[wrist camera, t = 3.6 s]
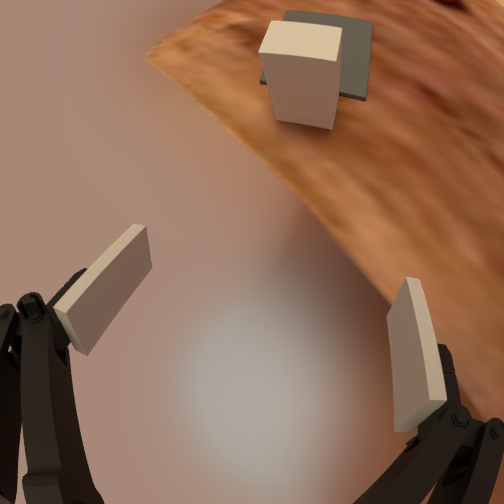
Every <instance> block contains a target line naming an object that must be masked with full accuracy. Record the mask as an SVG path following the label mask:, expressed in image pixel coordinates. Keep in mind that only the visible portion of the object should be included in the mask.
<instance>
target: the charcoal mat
mask: <svg viewBox="0 0 504 504" xmlns="http://www.w3.org/2000/svg"><path fill="white" fill-rule="evenodd" d="M282 21H288V22H300V23H310V24H318V25H326V26H333V27H339V28H342V49H341V69H340V85H339V95H342V96H347V97H351V98H356V99H360V100H366V93H367V84H368V74H369V64H370V52H371V39H372V22H370V21H366V20H361V19H356V18H350V17H344V16H338V15H332V14H324V13H316V12H306V11H295V10H287V11H286V13H285V15H284V18H283V20H282ZM260 83H262V84H267V83H266V79H265V75H264V72H262V75H261V77H260Z"/></svg>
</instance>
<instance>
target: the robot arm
mask: <svg viewBox="0 0 504 504" xmlns="http://www.w3.org/2000/svg"><path fill="white" fill-rule="evenodd" d="M151 269H152V263H151V257H150V250H149V244H148V236H147V229H146V226H145V225H140V224H133V225H132V226H131V227H130V228H129V229H128V230H127V231H126V232H125V233H124V234H123V235H122V236H121V237H119V238H118V239H117V240H116V241H115V242H114V243H113V244H112V245H111V246H110V247H109V248H108V249H107V250H106V251H105V252H104V253H103V254H102V255H101V256H100V257H99V258H98V259H97V260H96V261H95V262H94V263H93V264H92V265H91V266H90V267H89V269H86V268H84V269H82V270H80V271H79V272H77V273H75V274H74V275H73V276H72V278H71V279H70V280H69V282H67V283H66V284H65V285H64V287H62V288H61V289H60V290H59V291H58V293H57V294H56V295H55V296H54V297H53V298H52V299H51V300H50V301H49V302H48V303H47V305H45V303H44V301H43V299H42V297H41V295H40V294H39V293H36V292H31V293H28V294H25V295H24V296H23V297H21V298H20V300H19V301H18V303H17V308H18V310H19V312H16V310H15V308H14V306H13V305H12V304H3V305H2V306H0V504H15V499H16V493H17V479H18V456H19V444H20V433H21V425H22V426H23V437H24V446H25V454H26V459H27V466H28V472H27V474H25V475H24V476H23V479H22V484H23V490H24V495H25V500H26V503H27V504H104V501H103V499H102V497H101V495H100V494H99V492H98V491H97V490H96V488H95V486H94V484H93V481H92V477H91V474H90V470H89V467H88V463H87V459H86V455H85V451H84V447H83V442H82V438H81V433H80V428H79V422H78V417H77V411H76V406H75V399H74V392H73V384H72V376H71V366H70V355H69V349H68V347H67V346H68V345H69V344H70V342H71V343H72V345H73V347H74V349H75V350H77V351H79V352H81V353H82V354H85V355H87V356H88V354H89V353H90V352H91V350H92V348H93V347H94V346H95V344H96V343H97V341H98V340H99V339H100V337H101V336H102V334H103V333H104V331H105V330H106V329H107V327H108V326H109V324H110V323H111V322H112V320H113V319H114V318H115V316H116V315H117V314H118V312H119V311H120V309H121V308H122V307H123V305H124V304H125V303H126V301H127V300H128V299H129V297H130V296H131V295H132V293H133V292H134V291H135V289H136V288H137V287H138V286H139V284H140V283H141V282H142V280H143V279H144V278H145V276H146V275H147V274H148V273H149V271H150V270H151ZM387 324H388V331H389V341H390V352H391V364H392V377H393V396H394V432H411V431H413V430H414V429H415V428H416V427H418V435H416V436H415V437H414V438H412V439H411V440H410V441H408V442H407V443H406V445H408V444H409V445H408V446H407V447H406V448H405V449H404V451H403V452H402V453H401V454H400V455H399V456H398V458H397V459H396V460H395V461H394V462H393V463H392V464H391V466H390V467H389V468H388V469H387V470H386V471H385V472H384V473H383V475H381V476H380V477H379V479H378V480H377V481H376V482H375V483H374V484H373V485H372V486H371V487H370V488H369V489H368V490H367V491H366V492H365V493H364V494H362V495H361V497H359V498H358V499H357V500H356V501H355V502H354V503H353V504H420V503H421V502H422V501H423V499H424V498H425V497H426V496H427V494H428V493H429V492H430V490H431V489H432V487H433V486H434V485H435V484H436V486H435V488H434V490H433V492H432V494H431V496H430V498H429V501H428V502H427V504H488V503H489V500H490V498H491V495H492V492H493V488H494V485H495V482H496V478H497V475H498V472H499V468H500V464H501V460H502V456H503V452H504V423H503V421H502V420H500V419H499V418H492V419H490V420H489V421H488V422H486V423H484V422H481V421H478V420H476V419H473V418H472V417H471V414H470V412H469V411H468V409H467V408H466V407H464V406H462V405H461V401H460V395H459V389H458V384H457V379H456V375H455V369H454V366H453V365H454V364H453V360H452V355H451V353H450V351H449V350H448V348H447V346H446V345H444V344H437V342H436V338H435V334H434V329H433V325H432V321H431V318H430V314H429V310H428V306H427V303H426V299H425V296H424V292H423V289H422V286H421V282H420V279H416V278H411V277H405V280H404V282H403V284H402V286H401V288H400V290H399V293H398V295H397V297H396V299H395V301H394V303H393V305H392V307H391V309H390V311H389V313H388V315H387ZM9 346H11V351H10V352H8V349H9ZM436 482H437V483H436Z"/></svg>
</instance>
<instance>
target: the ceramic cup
mask: <svg viewBox="0 0 504 504" xmlns="http://www.w3.org/2000/svg"><path fill="white" fill-rule="evenodd" d="M441 1H443V2H447V3H452V2H455V1H459V0H441Z"/></svg>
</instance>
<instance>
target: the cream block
mask: <svg viewBox="0 0 504 504" xmlns="http://www.w3.org/2000/svg"><path fill="white" fill-rule="evenodd" d="M341 49H342V28H339V27H333V26H326V25H318V24H310V23H300V22H288V21H271V23H270V25H269V28H268V30H267V32H266V35H265V37H264V39H263V42H262V44H261V47H260V49H259V51H258V54H259V57H260V61H261V65H262V68H263V72H264V75H265V79H266V83H267V87H268V90H269V94H270V98H271V102H272V106H273V110H274V114H275V118H276V120H280V121H286V122H292V123H298V124H304V125H309V126H315V127H320V128H325V129H330V130H332V129H333V124H334V119H335V114H336V109H337V103H338V98H339V85H340V69H341Z"/></svg>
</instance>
